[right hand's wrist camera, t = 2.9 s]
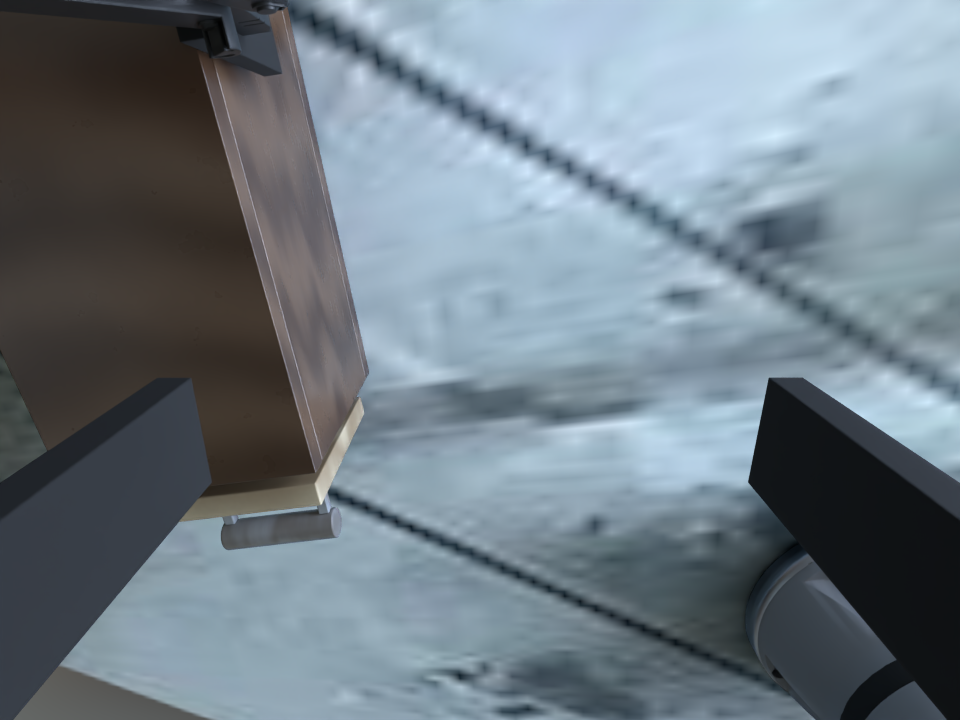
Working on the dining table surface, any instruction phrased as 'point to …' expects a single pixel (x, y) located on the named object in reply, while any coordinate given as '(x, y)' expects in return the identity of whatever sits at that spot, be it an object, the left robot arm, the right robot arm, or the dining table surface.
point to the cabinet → (171, 241)
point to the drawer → (280, 501)
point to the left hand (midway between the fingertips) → (104, 63)
